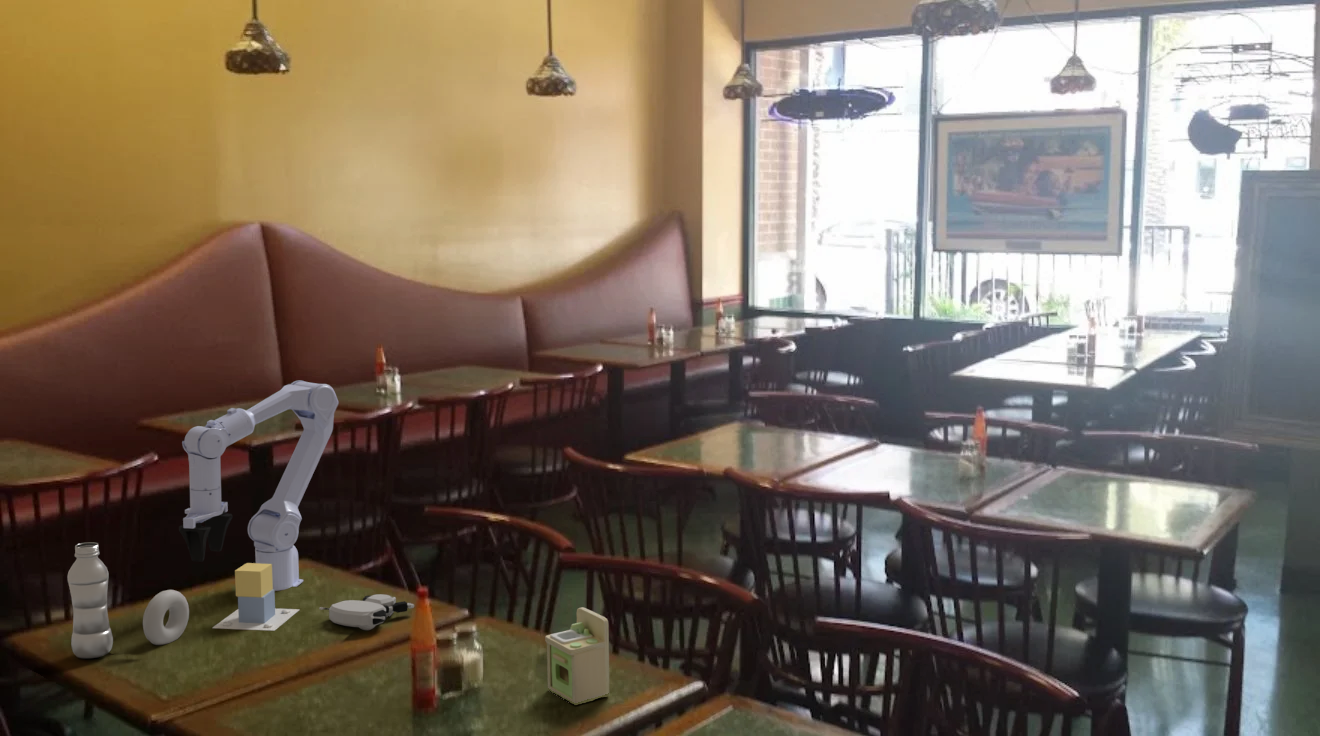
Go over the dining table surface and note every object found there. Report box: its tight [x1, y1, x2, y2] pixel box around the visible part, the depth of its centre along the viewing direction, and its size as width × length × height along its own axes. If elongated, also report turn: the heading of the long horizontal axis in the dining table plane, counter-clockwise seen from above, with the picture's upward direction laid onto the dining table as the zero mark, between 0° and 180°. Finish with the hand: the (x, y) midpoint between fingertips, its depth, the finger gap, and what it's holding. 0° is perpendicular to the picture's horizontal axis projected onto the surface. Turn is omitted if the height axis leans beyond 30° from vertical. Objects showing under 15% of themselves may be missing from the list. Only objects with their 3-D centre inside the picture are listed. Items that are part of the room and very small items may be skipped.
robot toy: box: [319, 593, 415, 631], centre depth 227 cm, size 12×4×15 cm
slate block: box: [237, 589, 276, 623], centre depth 226 cm, size 5×5×5 cm
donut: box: [142, 589, 190, 646], centre depth 213 cm, size 10×4×10 cm, turn 161°
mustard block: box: [234, 562, 273, 598], centre depth 225 cm, size 5×5×5 cm
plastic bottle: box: [67, 542, 114, 659], centre depth 207 cm, size 6×7×20 cm
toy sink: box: [544, 606, 610, 703], centre depth 192 cm, size 8×7×13 cm
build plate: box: [212, 607, 300, 632], centre depth 226 cm, size 12×12×1 cm
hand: (207, 555), depth 233 cm, fingers open, 7 cm apart
